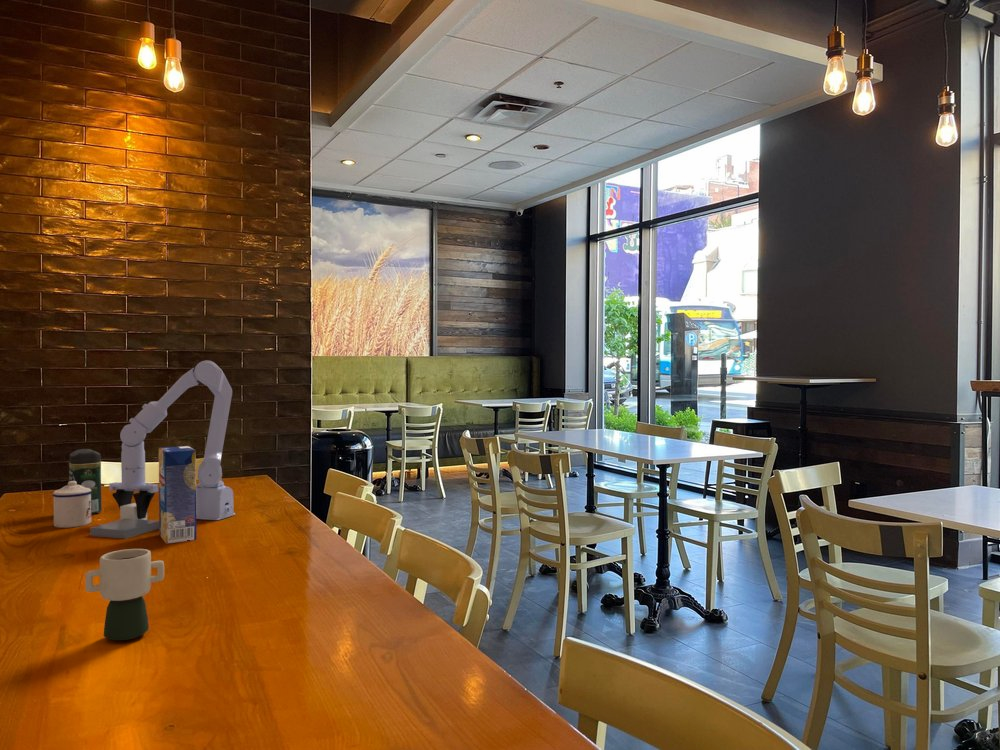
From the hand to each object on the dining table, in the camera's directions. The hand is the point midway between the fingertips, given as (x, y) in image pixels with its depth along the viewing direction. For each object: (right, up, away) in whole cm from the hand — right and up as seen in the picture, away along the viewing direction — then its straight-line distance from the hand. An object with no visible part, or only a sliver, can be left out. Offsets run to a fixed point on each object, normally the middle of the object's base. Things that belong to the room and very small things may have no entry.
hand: (133, 517), depth 190 cm
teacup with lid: (-17, -2, 0) cm, 17 cm away
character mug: (+41, -2, -81) cm, 91 cm away
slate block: (+3, -2, -10) cm, 11 cm away
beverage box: (+19, -2, -16) cm, 25 cm away
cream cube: (0, -2, 0) cm, 2 cm away
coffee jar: (-21, -2, +13) cm, 25 cm away
